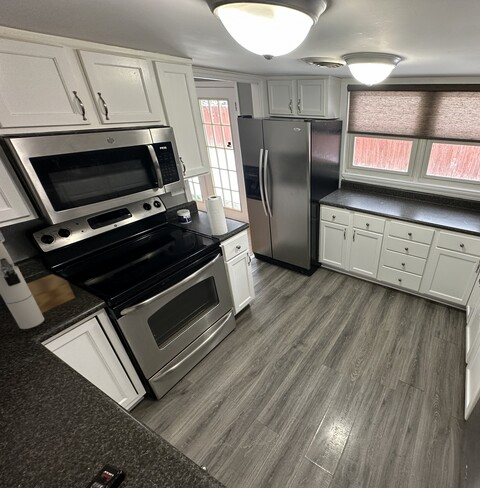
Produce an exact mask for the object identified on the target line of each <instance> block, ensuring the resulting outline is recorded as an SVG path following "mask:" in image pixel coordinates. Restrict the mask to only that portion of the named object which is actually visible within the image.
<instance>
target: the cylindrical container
mask: <svg viewBox="0 0 480 488" xmlns="http://www.w3.org/2000/svg"><path fill="white" fill-rule="evenodd" d="M4 268H5V267H3V268H2V269H4ZM13 269H14V271H15V272H16V273H17V275H18V277H19V279H20V281H21V283H18V284H16V285H13V286H8V284H7V282H6V280H5V279H4V277H5V276H4V275H3V273H2V272H1V271H0V297H2V299H3V301H4V303H5V305H6V306H7V308H8V310H9V311H10V313H11V315H12V317H13V318H14V321H15V322H16V324H17V326H18V328H19V329H21V330H28V329H31V328H34V327H37V326H39V325H41V324H42V323H43V322H44V321H45V317H44V315H43V313H41V311H40V309H39V307H38V305H37V303H36V301H35V300H34V298H33V296H32V294H31V292H30V290H29V288H28V286H27V282H26V280H25V278H24V276H23V274H22V272H21V271H20V268H19V267H18V265H14V266H13ZM4 271H5V273H6V271H7V270H4Z"/></svg>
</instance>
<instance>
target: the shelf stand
mask: <svg viewBox="0 0 480 488" xmlns="http://www.w3.org/2000/svg"><path fill="white" fill-rule="evenodd" d="M26 284H27V286H28V288H29V290H30V292H31V294H32V296H33V298H34V300H35V301H36V303H37V305H38V307H39V309H40V311H41V313H42V314H44V313H45V312H48V311H49V310H53V309H54V308H57V307H58V306H61V305H62V304H65V303H68V302H69V301H71V300H73V299H76V296H75V294H74V292H73V289H72V288H71V286H70V283H69V280H66V279H64V278H61V277H60V276H57V275H55V274H53V273H52V274H49V275H46V276H43V277H41V278H39V279H35V280H33V281H30V282H26Z"/></svg>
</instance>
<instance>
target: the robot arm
mask: <svg viewBox="0 0 480 488" xmlns="http://www.w3.org/2000/svg"><path fill="white" fill-rule="evenodd" d="M3 242H5V238H4V235H3V233H2V232H1V231H0V271H1V272H2V273H3V275H4V276H5V277H4V279H5V280H6V282H7V284H8V286H13V285H16V284H18V283H21V281H20V279H19V277H18V275H17V273H16V272H15V271H14V269H13V266H15V263H14V262H13V259H12V258H11V256H10V253H9V252H8V250H7V248H6V247H5V245H4V243H3ZM3 267H5V268H4V269H2V268H3ZM4 270H7V271H6V273H5V271H4Z"/></svg>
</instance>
